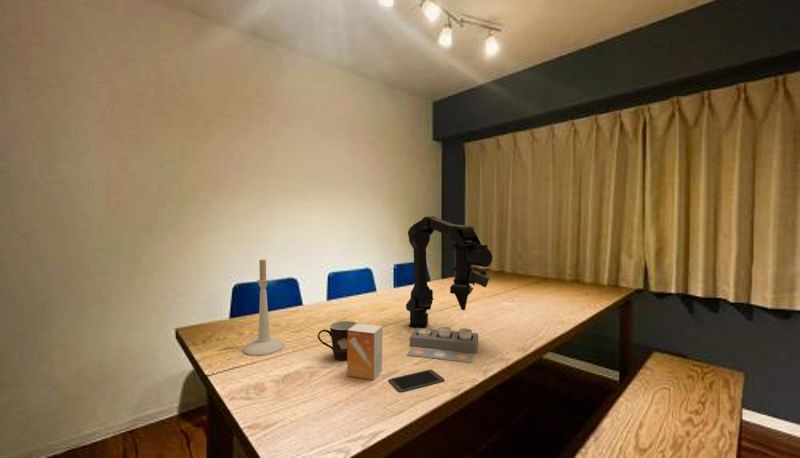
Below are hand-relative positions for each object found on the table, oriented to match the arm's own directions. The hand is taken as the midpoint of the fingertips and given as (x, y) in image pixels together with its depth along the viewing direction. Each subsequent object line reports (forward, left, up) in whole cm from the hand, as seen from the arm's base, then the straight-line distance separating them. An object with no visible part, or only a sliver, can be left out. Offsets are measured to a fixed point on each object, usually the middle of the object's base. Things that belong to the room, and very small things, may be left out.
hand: (463, 309), depth 117 cm
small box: (-24, -28, -13) cm, 39 cm away
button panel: (-6, 0, -12) cm, 14 cm away
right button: (+1, 0, -10) cm, 10 cm away
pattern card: (-6, -10, -12) cm, 17 cm away
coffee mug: (-36, -19, -13) cm, 43 cm away
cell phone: (-10, -28, -13) cm, 32 cm away
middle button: (-6, 0, -10) cm, 12 cm away
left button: (-13, 0, -12) cm, 18 cm away
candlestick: (-63, -20, -13) cm, 68 cm away
